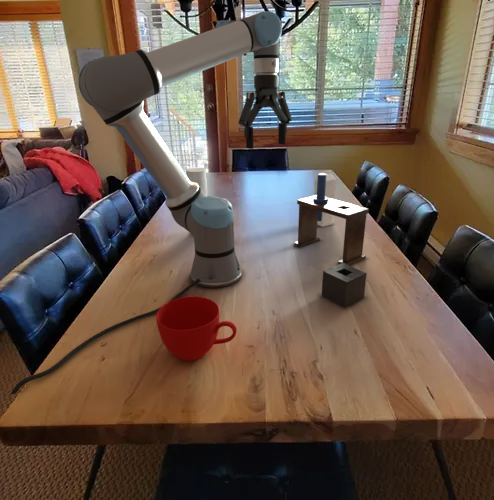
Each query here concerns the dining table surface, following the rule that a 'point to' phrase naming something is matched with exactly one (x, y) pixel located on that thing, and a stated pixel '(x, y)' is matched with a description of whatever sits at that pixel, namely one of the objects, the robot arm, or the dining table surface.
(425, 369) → the dining table surface
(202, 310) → the ceramic cup
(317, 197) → the peg
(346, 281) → the holder
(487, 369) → the dining table surface
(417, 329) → the dining table surface
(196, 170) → the cylindrical container
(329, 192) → the milk
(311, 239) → the stand
